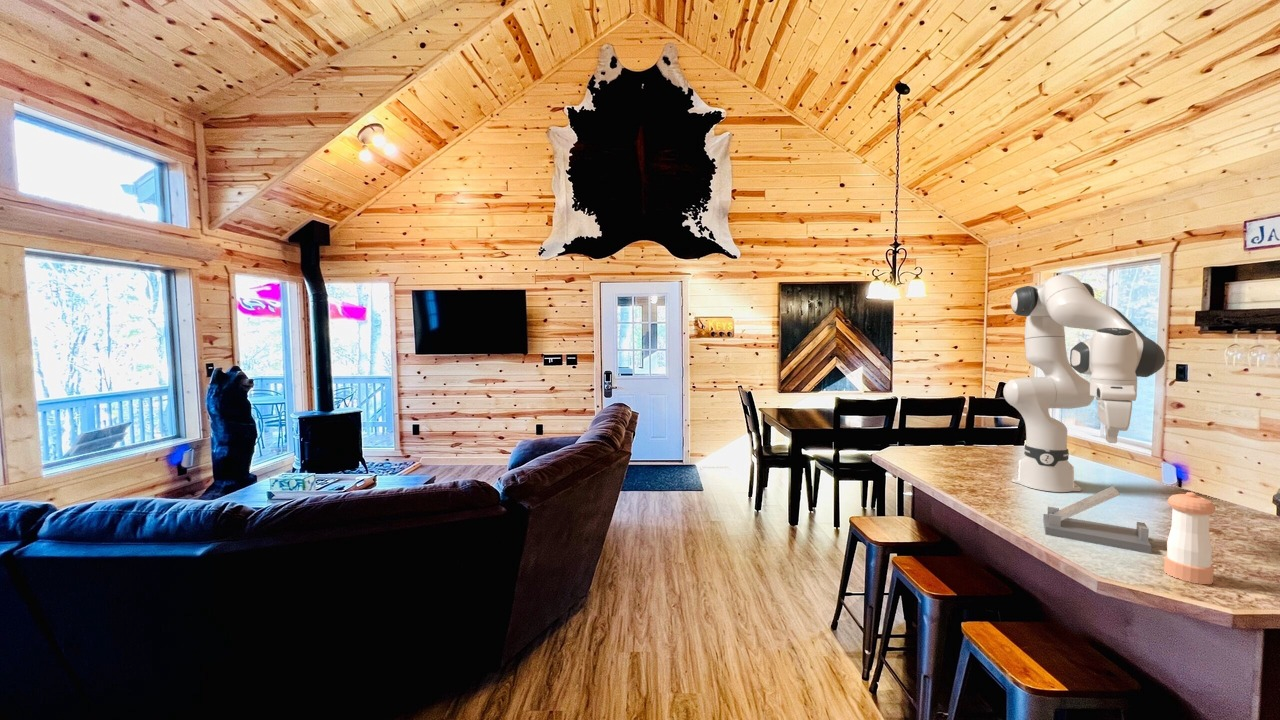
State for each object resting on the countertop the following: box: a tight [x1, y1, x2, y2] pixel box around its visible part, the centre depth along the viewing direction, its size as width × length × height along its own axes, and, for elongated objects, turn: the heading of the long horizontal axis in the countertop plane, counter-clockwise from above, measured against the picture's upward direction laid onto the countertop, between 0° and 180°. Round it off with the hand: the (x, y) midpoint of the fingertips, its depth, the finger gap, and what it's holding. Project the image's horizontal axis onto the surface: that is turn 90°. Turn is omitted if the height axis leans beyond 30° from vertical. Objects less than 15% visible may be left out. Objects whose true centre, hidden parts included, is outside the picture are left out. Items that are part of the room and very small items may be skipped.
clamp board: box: [1042, 505, 1152, 555], centre depth 129 cm, size 12×20×5 cm, turn 52°
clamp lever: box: [1050, 485, 1121, 521], centre depth 130 cm, size 5×17×2 cm
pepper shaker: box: [1163, 491, 1216, 585], centre depth 107 cm, size 7×7×19 cm
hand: (1111, 442), depth 126 cm, fingers closed
